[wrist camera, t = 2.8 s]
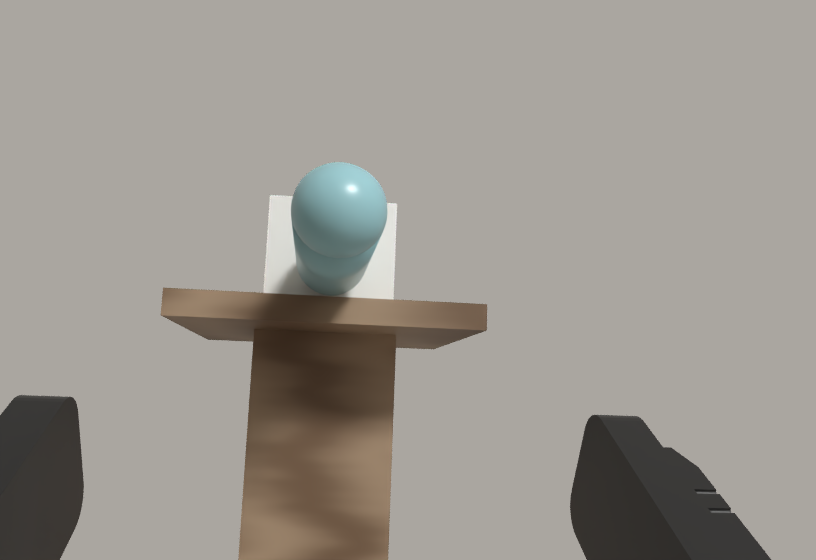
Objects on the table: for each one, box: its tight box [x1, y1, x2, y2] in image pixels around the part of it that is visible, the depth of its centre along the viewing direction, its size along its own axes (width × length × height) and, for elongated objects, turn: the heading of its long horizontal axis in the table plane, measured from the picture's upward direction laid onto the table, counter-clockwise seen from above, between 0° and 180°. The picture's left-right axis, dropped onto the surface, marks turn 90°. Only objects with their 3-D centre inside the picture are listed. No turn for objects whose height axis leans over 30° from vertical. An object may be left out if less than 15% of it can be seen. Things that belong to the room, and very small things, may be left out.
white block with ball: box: [264, 162, 397, 300], centre depth 29 cm, size 5×23×4 cm, turn 8°
